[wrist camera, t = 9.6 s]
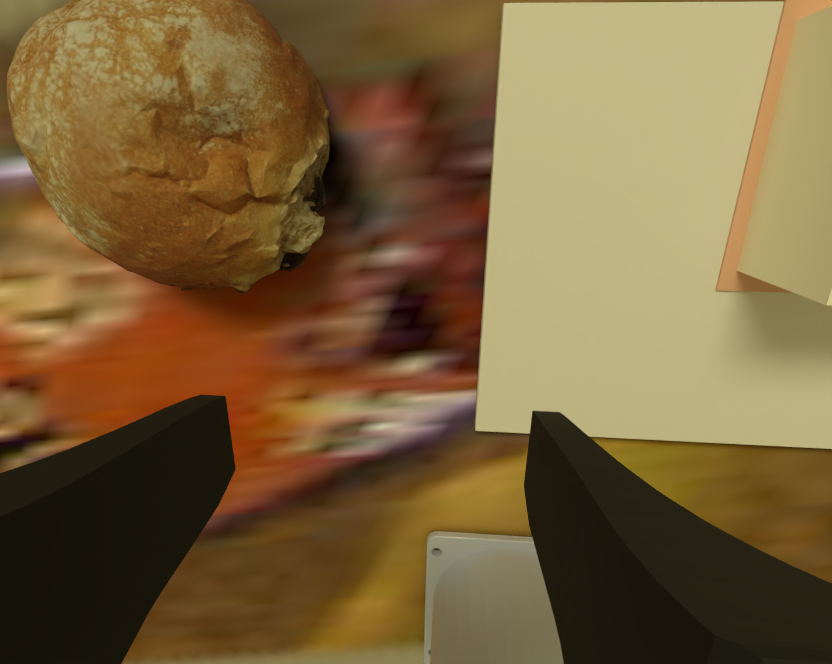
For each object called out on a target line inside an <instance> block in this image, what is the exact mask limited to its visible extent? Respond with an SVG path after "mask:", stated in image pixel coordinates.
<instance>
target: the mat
mask: <svg viewBox="0 0 832 664" xmlns="http://www.w3.org/2000/svg"><path fill="white" fill-rule="evenodd" d="M830 6H832V0H784V2H622V3H504V4H503V7H502V16H501V32H500V47H499V62H498V78H497V93H496V108H495V123H494V139H493V154H492V169H491V184H490V200H489V215H488V230H487V246H486V261H485V276H484V291H483V307H482V322H481V337H480V353H479V368H478V383H477V398H476V414H475V431H489V432H509V433H529V434H530V428H531V419H532V411H549V412H560V413H562V414H563V415H564V416H566V417H567V418H568V419H569V420H570V421H571V422H573V423H574V424H575V425H576V426H577V427H578V428H579V429H581V430H582V431H583V432H584V433H585V434H586V435H588V436H589V437H608V438H627V439H647V440H667V441H687V442H706V443H726V444H746V445H766V446H785V447H805V448H825V449H832V306H830V305H824V304H821V303H819V302H816V301H814V300H811V299H809V298H806V297H803V296H801V295H798V294H796V293H793V292H791V291H788V290H785V289H783V288H780V287H778V286H775V285H773V284H770V283H767V282H765V281H762V280H760V279H757V278H755V277H752V276H749V275H747V274H744V273H742V272H739V271H737V267H738V263H739V259H740V254H741V250H742V246H743V242H744V238H745V233H746V229H747V225H748V221H749V217H750V212H751V208H752V204H753V200H754V196H755V191H756V187H757V183H758V179H759V175H760V170H761V166H762V162H763V158H764V154H765V149H766V145H767V141H768V137H769V133H770V128H771V124H772V120H773V116H774V112H775V107H776V103H777V99H778V95H779V91H780V86H781V82H782V78H783V74H784V70H785V66H786V61H787V57H788V53H789V49H790V45H791V40H792V36H793V32H794V28H795V24H796V20H798V19H800V18H803V17H805V16H808V15H810V14H813V13H815V12H818V11H820V10H822V9H825V8H827V7H830Z"/></svg>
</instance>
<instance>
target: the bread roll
mask: <svg viewBox="0 0 832 664" xmlns="http://www.w3.org/2000/svg"><path fill="white" fill-rule="evenodd" d="M7 95H8V103H9V111H10V114H11V122H12V126H13V131H14V136H15V140H16V141H17V143H18V144H19V146H20V148H21V150H22V152H23V154H24V155H25V157H26V159H27V162H28V164H29V166H30V168H31V171H32V173H33V174H34V176H35V179H36V181H37V183H38V185H39V187H40V190H41V192H42V193H43V195H44V196H45V198H46V200H47V201H48V203H49V204H50V206H51V207H52V209H53V210H54V212H55V213H56V215H57V216H58V218H59V219H60V220H61V221H62V222H63V223H65V225H66V226H67V227H68V229H69V230H70V231H71V232H72V233H73V234H74V235H75V236H76V237H77V238H78V239H79V240H80V241H81V242H82V243H83V244H84V245H86V246H87V247H89V248H90V249H92V250H94V251H95V252H97V253H99V254H101V255H103V256H104V257H106V258H107V259H109V260H111V261H113V262H114V263H116V264H118V265H119V266H121V267H122V268H124V269H126V270H127V271H130V272H134V273H136V274H139V275H141V276H143V277H146V278H148V279H150V280H153V281H155V282H158V283H161V284H166V285H170V286H179V287H180V288H181V290H182V291H183V290H187V289H195V288H206V289H208V288H212V289H218V288H224V287H230V286H231V287H234V288H235V289H236V290H237V291H239V292H241V293H245V292H247V291H248V290H249V289H250V288H251V287H252V286H253V284H254V283H255V282H257V281H258V280H259V279H261V278H263V277H265V276H267V275H269V274H272V273H274V272H275V271H276V270H287V271H291V270H293V269H295V268H297V267H298V266H300V265H302V264H303V262H304V261H305V257H306V256H307V255H308V252H309V250H310V248H311V245H312V243H315V242H316V241H317V240H318V239H319V238H320V236H321V235H322V233H323V226H324V224H325V217H324V216H323V217H320V216H319V215H318V214H317V213H316V211H318V210H320V209H321V208H322V207H323V206H324V205H325V204H326V194H325V187H324V184H323V181H322V179H321V178H322V175H323V172H324V170H325V167H326V163H327V162H328V160H329V138H330V137H329V130H328V121H327V119H328V116H329V111H328V110H327V109H326V106H325V102H324V99H323V95H322V92H321V90H320V88H319V85H318V83H317V80H316V77H315V76H314V74H313V72H312V70H311V68H310V66H309V65H308V63H307V62H306V61H305V59H304V58H303V57H302V55H301V54H300V53H299V52H298V50H297V49H296V48H295V46H293V45H292V44H291V43H289V42H286V41H283V40H282V39H281V38H280V36H279V34H278V32H277V30H276V29H275V28H274V27H273V25H272V24H271V23H270V22H269V21H268V20H267V19H266V18H265V17H264V16H263V15H262V14H261V13H260V12H259V11H258V10H257V9H255V8H254V7H253V6H252V5H251V4H250V3H249V2H247V1H246V0H73V1H70V2H68V3H66V4H65V5H64V6H62V7H59V8H57V9H55V10H54V11H52V12H50V13H48V14H46V15H44V16H43V17H41V18H39V19H38V20H37V21H36V22H35V23H34V24H33V25H32V26H31V27H30V28H29V29H28V31H27V32H26V33H25V34H24V36H23V38H22V39H21V41H20V43H19V45H18V47H17V50H16V52H15V55H14V57H13V60H12V63H11V66H10V68H9V71H8V74H7ZM273 202H274V203H273ZM274 206H275V207H274Z"/></svg>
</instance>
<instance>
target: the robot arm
mask: <svg viewBox="0 0 832 664" xmlns="http://www.w3.org/2000/svg"><path fill="white" fill-rule="evenodd" d="M234 471H235V462H234V455H233V448H232V440H231V433H230V426H229V419H228V412H227V404H226V397H225V396H213V395H199V396H195V397H192V398H189V399H186V400H184V401H181V402H179V403H176V404H174V405H171V406H169V407H167V408H164V409H162V410H160V411H157V412H155V413H153V414H151V415H148V416H146V417H144V418H142V419H139V420H137V421H135V422H133V423H130V424H128V425H126V426H123V427H121V428H119V429H117V430H114V431H112V432H109V433H107V434H105V435H102V436H100V437H97V438H95V439H92V440H90V441H87V442H85V443H83V444H80V445H78V446H75V447H73V448H70V449H68V450H65V451H63V452H60V453H58V454H55V455H52V456H50V457H47V458H44V459H41V460H38V461H36V462H33V463H30V464H27V465H24V466H21V467H18V468H15V469H12V470H9V471H6V472H3V473H0V664H121V663H122V661H123V659H124V658H125V656H126V654H127V652H128V650H129V648H130V646H131V645H132V643H133V641H134V639H135V637H136V635H137V633H138V631H139V630H140V628H141V626H142V624H143V622H144V620H145V618H146V616H147V615H148V613H149V611H150V610H151V608H152V606H153V605H154V603H155V601H156V600H157V598H158V596H159V595H160V593H161V592H162V590H163V589H164V587H165V586H166V584H167V583H168V581H169V580H170V578H171V577H172V575H173V574H174V572H175V571H176V569H177V568H178V566H179V565H180V563H181V562H182V560H183V559H184V557H185V556H186V554H187V553H188V551H189V550H190V548H191V547H192V545H193V544H194V542H195V541H196V539H197V538H198V536H199V534H200V533H201V531H202V530H203V528H204V527H205V525H206V524H207V522H208V521H209V519H210V518H211V516H212V515H213V513H214V511H215V510H216V508H217V507H218V505H219V503H220V501H221V499H222V497H223V495H224V493H225V491H226V489H227V486H228V484H229V482H230V480H231V478H232V475H233V473H234ZM524 489H525V497H526V505H527V512H528V519H529V526H530V529H531V533H532V537H523V536H507V535H492V534H476V533H460V532H445V531H433V532H431V533H430V534H429V535H428V537H427V557H426V592H425V627H424V662H423V663H424V664H832V584H831V583H829V582H827V581H825V580H822V579H820V578H818V577H816V576H813V575H811V574H809V573H807V572H804V571H802V570H800V569H798V568H795V567H793V566H791V565H789V564H787V563H785V562H783V561H781V560H779V559H777V558H774V557H772V556H770V555H768V554H766V553H764V552H762V551H760V550H758V549H756V548H754V547H752V546H751V545H749V544H747V543H745V542H743V541H741V540H739V539H737V538H735V537H734V536H732V535H730V534H728V533H726V532H724V531H722V530H720V529H719V528H717V527H715V526H713V525H712V524H710V523H708V522H706V521H705V520H703V519H701V518H700V517H698V516H696V515H695V514H693V513H692V512H690V511H688V510H687V509H685V508H684V507H682V506H680V505H679V504H677V503H676V502H674V501H672V500H671V499H669V498H668V497H666V496H665V495H663V494H662V493H660V492H659V491H657V490H656V489H655V488H653V487H652V486H650V485H649V484H648V483H646V482H645V481H644V480H642V479H641V478H639V477H638V476H637V475H635V474H634V473H633V472H631V471H630V470H629V469H627V468H626V467H625V466H624V465H622V464H621V463H620V462H618V461H617V460H616V459H615V458H614V457H612V456H611V455H610V454H609V453H607V452H606V451H605V450H604V449H603V448H601V447H600V446H599V445H598V444H597V443H596V442H594V441H593V440H592V439H591V438H590V437H589V436H588V435H586V434H585V433H584V432H583V431H582V430H581V429H579V428H578V427H577V426H576V425H575V424H574V423H573V422H571V421H570V420H569V419H568V418H567V417H566V416H564V415H563V414H562V413H560V412H549V411H532V419H531V428H530V437H529V446H528V455H527V463H526V472H525V481H524ZM434 548H438V549H440V550H434Z"/></svg>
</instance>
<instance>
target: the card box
mask: <svg viewBox="0 0 832 664" xmlns="http://www.w3.org/2000/svg"><path fill="white" fill-rule="evenodd" d="M737 271H739V272H742V273H744V274H747V275H749V276H752V277H755V278H757V279H760V280H762V281H765V282H767V283H770V284H773V285H775V286H778V287H780V288H783V289H785V290H788V291H791V292H793V293H796V294H798V295H801V296H803V297H806V298H809V299H811V300H814V301H816V302H819V303H821V304H824V305H830V306H832V6H830V7H827V8H825V9H822V10H820V11H818V12H815V13H813V14H810V15H808V16H805V17H803V18H800V19H798V20H796V24H795V28H794V32H793V36H792V40H791V45H790V49H789V53H788V57H787V61H786V66H785V70H784V74H783V78H782V82H781V86H780V91H779V95H778V99H777V103H776V107H775V112H774V116H773V120H772V124H771V128H770V133H769V137H768V141H767V145H766V149H765V154H764V158H763V162H762V166H761V170H760V175H759V179H758V183H757V187H756V191H755V196H754V200H753V204H752V208H751V212H750V217H749V221H748V225H747V229H746V233H745V238H744V242H743V246H742V250H741V254H740V259H739V263H738V267H737Z"/></svg>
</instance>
